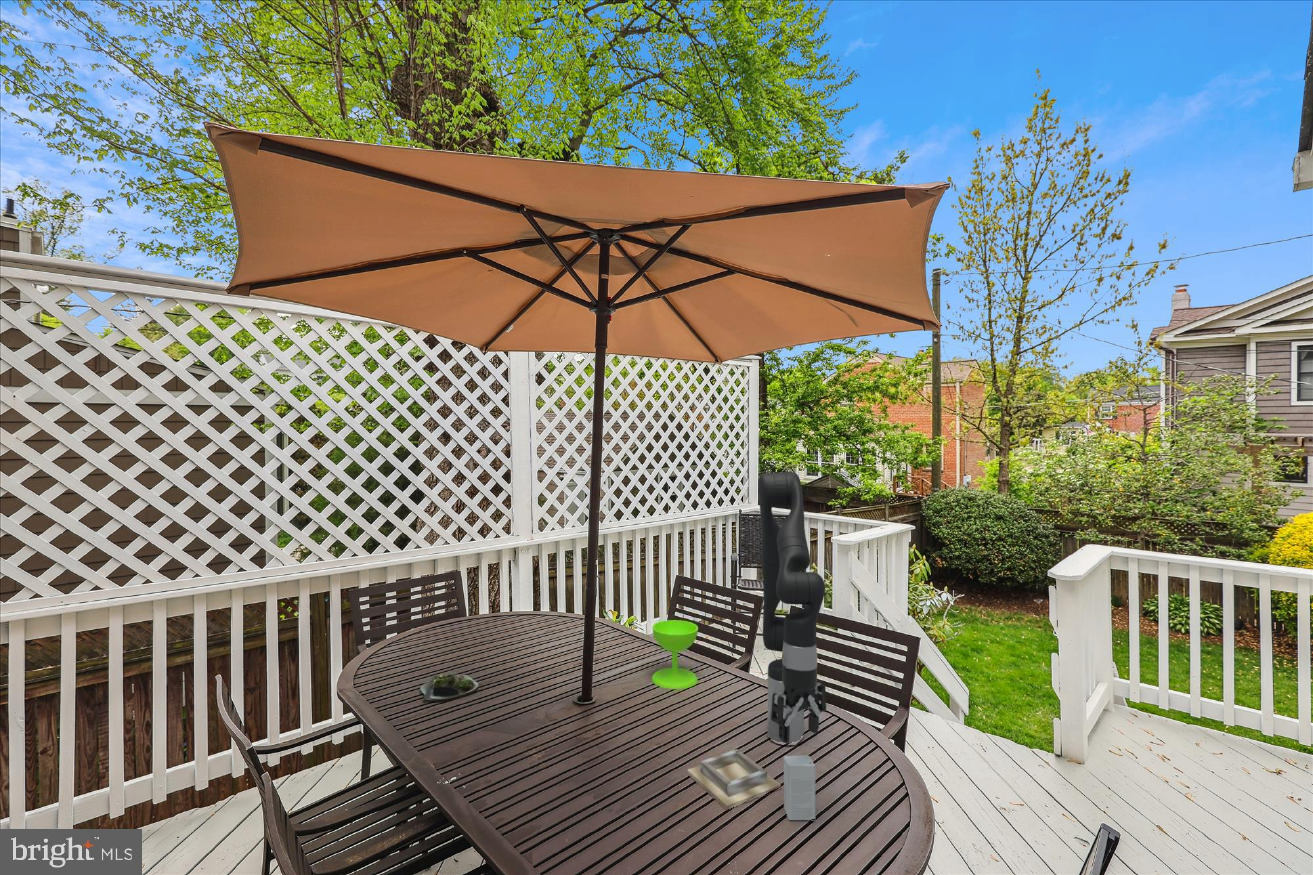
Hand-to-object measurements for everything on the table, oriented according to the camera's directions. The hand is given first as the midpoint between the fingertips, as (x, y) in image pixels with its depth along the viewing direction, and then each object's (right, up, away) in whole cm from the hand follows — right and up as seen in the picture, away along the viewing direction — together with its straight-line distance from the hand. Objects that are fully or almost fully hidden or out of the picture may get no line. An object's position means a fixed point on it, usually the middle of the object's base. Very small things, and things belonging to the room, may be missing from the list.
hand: (799, 736), depth 123 cm
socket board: (-13, -17, +12) cm, 25 cm away
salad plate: (-100, -18, +60) cm, 118 cm away
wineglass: (-25, -18, +71) cm, 77 cm away
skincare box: (0, -17, 0) cm, 17 cm away
